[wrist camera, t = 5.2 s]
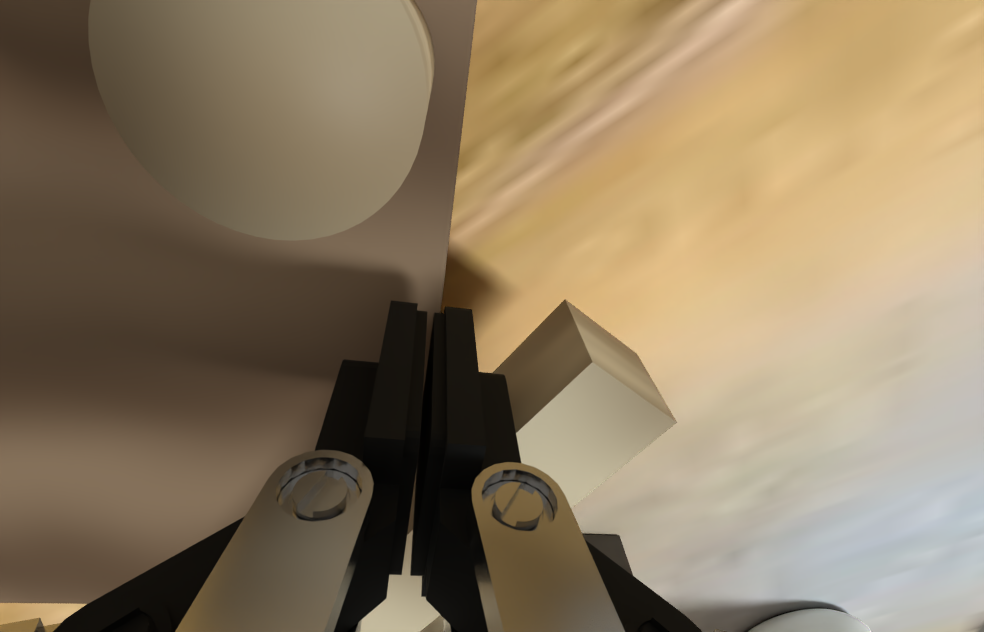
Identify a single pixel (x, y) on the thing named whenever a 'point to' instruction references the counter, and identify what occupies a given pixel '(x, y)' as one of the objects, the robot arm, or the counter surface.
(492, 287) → the counter surface
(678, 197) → the counter surface
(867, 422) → the counter surface
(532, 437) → the hinged leg
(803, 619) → the water bottle
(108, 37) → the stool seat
